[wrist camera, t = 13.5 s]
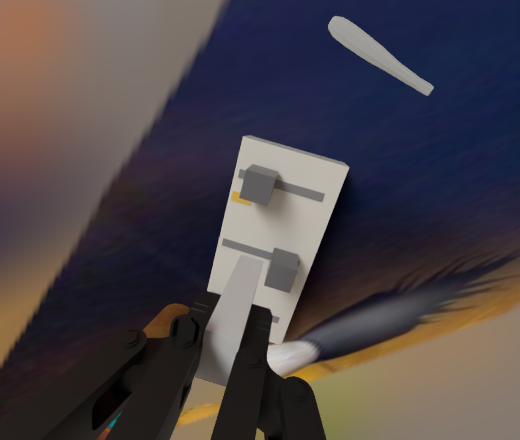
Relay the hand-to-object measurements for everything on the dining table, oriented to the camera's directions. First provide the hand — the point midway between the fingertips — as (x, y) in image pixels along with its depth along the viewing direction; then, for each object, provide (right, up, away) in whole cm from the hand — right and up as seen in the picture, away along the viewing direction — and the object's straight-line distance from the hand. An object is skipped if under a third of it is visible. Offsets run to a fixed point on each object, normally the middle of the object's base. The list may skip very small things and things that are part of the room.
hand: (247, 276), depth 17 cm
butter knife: (+20, +18, +13) cm, 30 cm away
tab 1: (+1, +8, +13) cm, 16 cm away
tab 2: (+4, -2, +16) cm, 17 cm away
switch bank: (+2, +1, +21) cm, 21 cm away
